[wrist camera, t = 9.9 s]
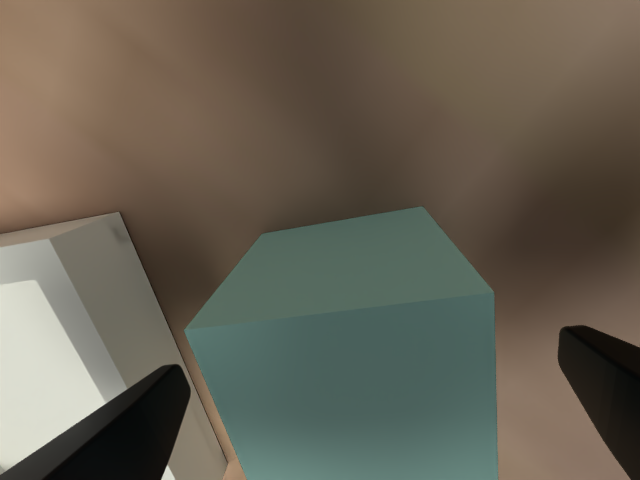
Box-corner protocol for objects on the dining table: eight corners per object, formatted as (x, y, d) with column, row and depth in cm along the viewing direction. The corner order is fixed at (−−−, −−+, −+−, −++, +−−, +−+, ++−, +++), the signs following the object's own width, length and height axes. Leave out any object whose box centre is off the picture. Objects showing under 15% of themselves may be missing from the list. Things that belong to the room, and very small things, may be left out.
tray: (119, 211, 10) (48, 238, 8) (227, 464, 14) (203, 532, 12) (-152, 263, 12) (-274, 297, 10) (11, 472, 16) (-47, 532, 14)
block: (422, 205, 9) (494, 291, 4) (435, 342, 11) (498, 509, 6) (262, 232, 10) (184, 330, 5) (297, 356, 12) (261, 513, 7)
